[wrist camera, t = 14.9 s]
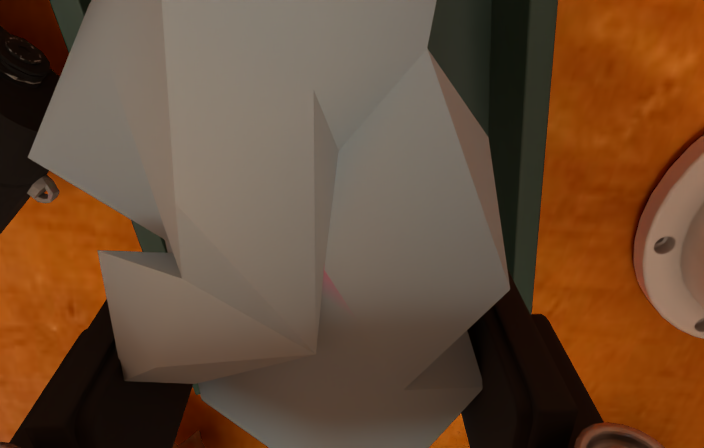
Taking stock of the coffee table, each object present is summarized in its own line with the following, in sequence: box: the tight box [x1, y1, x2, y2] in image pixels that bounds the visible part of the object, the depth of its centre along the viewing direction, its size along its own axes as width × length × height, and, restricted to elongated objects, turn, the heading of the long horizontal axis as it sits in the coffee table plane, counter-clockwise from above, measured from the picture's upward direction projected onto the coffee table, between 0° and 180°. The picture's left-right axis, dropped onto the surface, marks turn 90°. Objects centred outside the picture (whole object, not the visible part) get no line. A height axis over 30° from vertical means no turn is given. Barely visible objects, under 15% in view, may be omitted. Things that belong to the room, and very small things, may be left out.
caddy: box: [49, 0, 558, 395], centre depth 18 cm, size 14×18×5 cm
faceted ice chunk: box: [28, 0, 510, 448], centre depth 8 cm, size 13×7×5 cm, turn 13°
